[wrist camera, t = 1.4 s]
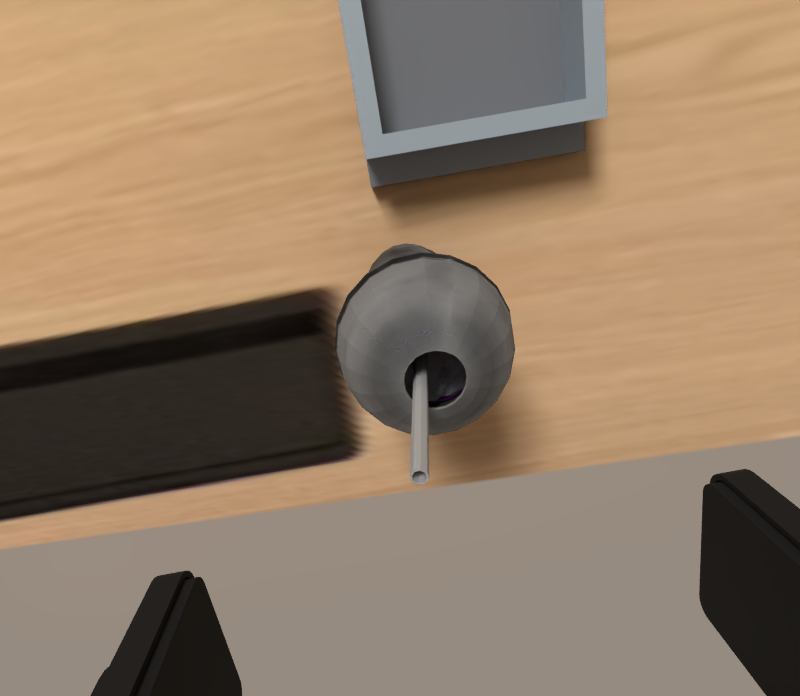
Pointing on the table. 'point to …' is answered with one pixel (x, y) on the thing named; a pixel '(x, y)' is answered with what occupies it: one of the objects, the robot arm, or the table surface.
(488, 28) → the blue-grey tray
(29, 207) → the table surface
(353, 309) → the beverage cup
